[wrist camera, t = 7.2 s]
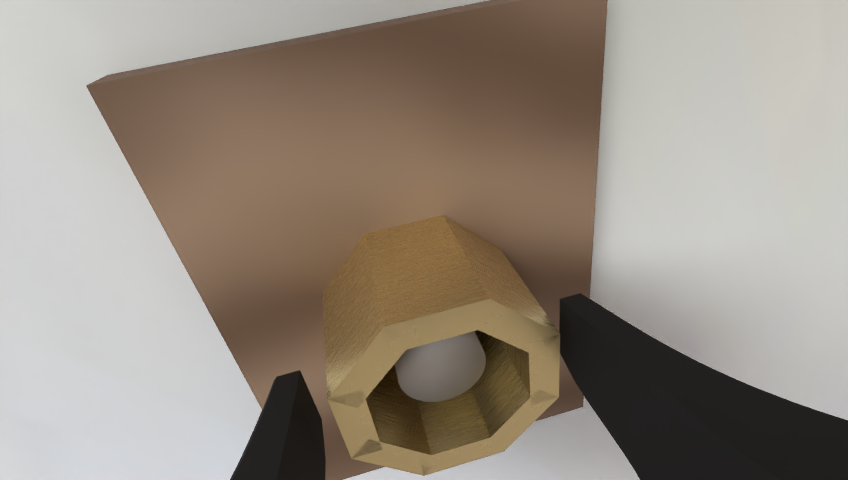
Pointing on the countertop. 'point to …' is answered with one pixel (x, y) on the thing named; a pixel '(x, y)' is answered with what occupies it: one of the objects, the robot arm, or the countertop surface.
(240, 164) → the hub board
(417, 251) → the brass collar
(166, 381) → the countertop surface
